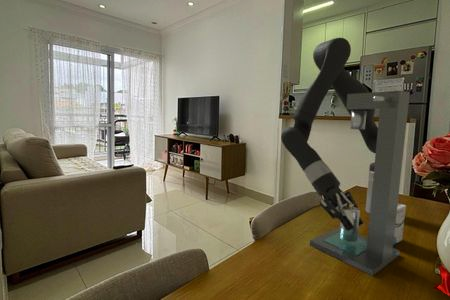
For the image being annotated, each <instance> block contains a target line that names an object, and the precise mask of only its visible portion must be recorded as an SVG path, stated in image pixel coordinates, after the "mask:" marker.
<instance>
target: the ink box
mask: <svg viewBox="0 0 450 300" xmlns="http://www.w3.org/2000/svg"><path fill="white" fill-rule="evenodd" d="M406 209H407V205H405V204H401V203H399V202H398V205H397V215H396V224H395V233H394V242H393V246H394V245H396V244H397V243H400V242H402V240H403V235H404V234H403V232H404V225H405V217H406Z"/></svg>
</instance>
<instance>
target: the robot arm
mask: <svg viewBox="0 0 450 300" xmlns="http://www.w3.org/2000/svg"><path fill="white" fill-rule="evenodd" d="M351 51H352V48H351V44H350V42H349V40H347V39H346V38H344V37H335V38H332V39H329V40H326V41H324V42H321V43H319V44H318V45H316V46H315V47H314V49H313V53H312V57H313V62H314V64H315V66H316V67H317V69H318V70H319V73H318V74H317V76H316V78H315V79H314V81H313V82H312V83H311V85H310V86H309V87H308V88H307V89H306V91H304V93H303V95H302V97H301V98H300V100H299V102H298V104H297V107H296V109H295V112H294V114H293V120H294V124H293V126H289V127H286V128H285V129H283V131H282V133H281V137H280V138H281V139H280V140H281V143H282V145H283V146H284V147H285V149H286V151H288V153H289V154H291V156H292V157H293V158H294V159H295V160H296V162H297V163H298V165H299V167H300V168H301V170H302V171H303V173H304V174H305V176H306V178H307V180H308V182H309V183H310V185H311V186H312V187H313V189H314V191H315V192H316V193H317V195H318V196H319V197H323V199H322V200H320V201H319V205H320V206H321V207H322V208H323V209H324V210H325V212H326V213H327V214H328V215H329V216H330V217H331V219H333V220H334V219H337V220H339V221H340V222H341V223H342V224H343V226H344V227H345V229H346V230H347V231H349V230H351V229H353V228H354V226H353V225H352V223H351V222H350V220H349V219H348V217H347V216H345V213H344V211H343V206H348V203H352V204H354V207H356V208H358V209H359V206H358V204H357V203H356V201H355V198H354V197H353V195H352V193H351V192H350V191H349V190H347V191H345V192H344V191H343V190H342V189H341V188H340V186H341V182H340V181H339V180H338V178H337V177H336V175H335V174H334V173H333V171H332V170H331V169H330V167H329V166H328V164H327V163H325V162H324V160H323V159H322V158H321V156H320V155H319V153H318V152H317V151H316V150H315V149H314V148H313V147H311V146H310V144H309V142H308V141H309V138H310V134H311V131H312V127H313V122H315V119H316V116H317V114H318V112H319V109H320V108H321V105H322V103H323V101H324V100H325V97H326V96H327V93H328V92H329V91H330V89H331V87H332V89H333V90H334V91H335V93H336V95H337V96H338V98H339V99H340V101H341V103H342V105H343V106H344V108H345V110H346V112H348V115H350V117H351V114H352V111H366V122H365V129H358V131H359V132H360V134H361V136H362V137H361V138H362V139H363V141H364V144H365V145H366V147H367V149H368V151H370V152H371V153H373V154H376V144H377V133H378V125H377V123H375V119H374V118H375V113H376V109H346V107H347V94H358V93H370V91H369V90H368V88H367V86H366V85H364V84H363V83H362V82H361V81H360V80H358V79H356V77H354V76H352V74H350V73H349V72H347V70H346V69H345V65H346V64H347V63H348V60H349V59H350V57H351ZM374 165H375V162H371V163H370V164H369V166H368V167H369V168H368V169H369V170H368V181H367V182H368V183H367V191H366V200H365V201H366V202H365V212H366V213H367V214H369V215H370V208H371V197H372V186H373V176H374ZM363 224H364V221H363V220H362V218H361V217H360V216H359V226H362V225H363Z"/></svg>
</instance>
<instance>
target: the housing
mask: <svg viewBox="0 0 450 300" xmlns="http://www.w3.org/2000/svg"><path fill="white" fill-rule="evenodd" d="M343 211H344V213H345V216H347V217H348V219H349V220H350V222H351V223H352V225H353V226H354V228H353V229H351V230H349V231H347V230H346V229H345V227H344V226H343V224H342V223H341V221H340V222H339V223H340V224H339V225H340V226H339V227H340V234H339V237H340V238H341V239H343V240H345V241H349V242H356V241H357V237H358V235H359V217H360V215H361V210H360V208H359V207H358V208H356V207H354V204H352V203H348V206H343Z"/></svg>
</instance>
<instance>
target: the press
mask: <svg viewBox="0 0 450 300" xmlns="http://www.w3.org/2000/svg"><path fill="white" fill-rule="evenodd" d="M410 97H411V93H410V91H405V90H392V91H375V92H374V91H373V92H369V93H358V94H347V107H346V108H345V110H346V109H375V110H379V113H378V124H377V127H378V133H377V144H376V153H374V155H375V156H374V163H375V165H374V176H373V186H372V197H371V208H370V214H369V221H368V231H367V237H366V236H363V235H360V234H358V237H357V241H356V242H349V241H345V240H343V239H341V238H340V237H339V234H340V226H338V227H336V228H333V229H331V230H330V231H327V232H326V233H323V234H320V235H318V236H317V237H314V238H312V239H310V240H309V245H310V246H311V247H313V248H315V249H318V250H319V251H321V252H324V254H325V253H326V254H328V255H329V256H332V257H333V258H335V259H337V260H339V261H342V262H344V263H346V264H347V265H350V266H351V267H354V268H355V269H357V270H359V271H362V272H364V273H366V274H367V275H369V276H371V277H373V276H375V275H376V274H377V273H379V272H380V271H381V270H382V269H383V268H385V267H386V266H387V265H389V264H390V263H391V262H392V261H394V260H395V259H397V258H398V257H399V256H400V249H397V248H395V247H394V245H393V242H394V233H395V224H396V215H397V205H398V203H399V194H400V188H401V187H400V186H401V178H402V168H403V167H402V166H403V158H404V148H405V139H406V132H407V121H408V115H409V114H408V113H409V103H410ZM350 117H351V118H350V130H359V129H365V122H366V111H352V114H351V116H350Z"/></svg>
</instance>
